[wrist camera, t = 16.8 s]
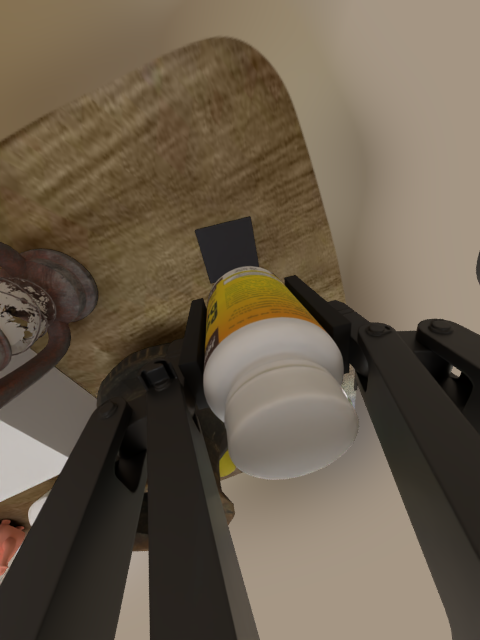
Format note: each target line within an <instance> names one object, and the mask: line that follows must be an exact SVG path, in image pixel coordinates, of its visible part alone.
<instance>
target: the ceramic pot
mask: <svg viewBox="0 0 480 640" xmlns="http://www.w3.org/2000/svg"><path fill="white" fill-rule="evenodd" d="M170 344H171V343H166V344H162V345H158V346H153V347H149V348H146V349H144V350H141V351H138V352H135V353H133V354H131V355H129V356H128V357H126V358H125V359H124V360H122V361H121V362H120V363H119V364H118V365H117V366H116V367H115V368H114V369H113V370H112V371H111V372H110V373H109V374H108V375H107V377H106V378H105V379H104V380H103V381H102V383H101V386H100V388H99V391H98V395H97V404H96V406H97V407H99V406H100V405H101V404H102V403H104V402H105V401H107V400H109V399H111V398H114V397H119V396H121V397H124V398H125V399H126V401H127V402H129V401H131V400H133V399H135V398H138V397H140V396H142V395H143V394H145V393H146V390H145V389H144V387H143V385H142V384H141V382H140V380H139V379H138V377H137V375H138V372H139V370H140V369H141V368H142V367H143V366H144V365H146V364H147V363H148V362H150V361H152V360H155V359H158V358H165V355H166V352H167V349H168V347H169V345H170ZM195 413H196V415H197V417H198V420H199V423H200V427H201V431H202V434H203V438H204V441H205V445H206V448H207V452H208V456H209V459H210V463H211V466H212V470H213V474H214V477H215V481H216V484H217V488H218V492H219V495H220V499H221V502H222V506H223V509H224V513H225V517H226V520H227V524H228V525H229V523H230V522H231V520H232V519H233V517H234V515H235V511H234V504H233V503H232V502H231V501H230V500H229V499H228V497H227V496H226V495H225V494H224V493H223V492H222V490H221V484H220V470H219V461H220V459H221V458H222V457H223V455H224V454H225V453H226V451H227V450H228V441H227V430H226V427H225V423H224V422H223V421H222V420H220V419H219V418H218V417H217V416H216V415H215V414H214V413H213V411H212V410H211V408H210V407H208V408H203V409H198V406H197V404H196V402H195ZM132 551H149V543H148V479H147V481H146V486H145V491H144V496H143V501H142V506H141V510H140V515H139V520H138V525H137V530H136V535H135V540H134V545H133V550H132Z"/></svg>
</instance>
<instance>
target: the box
mask: <svg viewBox="0 0 480 640" xmlns="http://www.w3.org/2000/svg"><path fill="white" fill-rule="evenodd" d="M3 331H4V330H3ZM18 342H19V343H18ZM18 342H17V343H15V344H13V346H15V345H16V346H17V348H18V347H19V346H21V347H22V348H21V349H23V350H24V348H25V346H24V345H23V344H24V343H22V342H20V341H18ZM11 346H12V345H11ZM16 346H15V347H16ZM23 346H24V347H23ZM15 351H16V352H14V353H13V352H12V354H16V353H20V352H21V351H20V349H19V348H18V349H15ZM17 351H18V352H17ZM36 355H37V353H36V352H34V351H33V350H32V349H30V348H29V349H28V350H26V351H25V352H23V353H21V354H18V355H14V356H12V357H11V360H12V362H11V363H9V364H8V366H7V367H5V368H4V369H3V370H2V371H0V379H1V378H2V377H4V376H6V375H7V374H9V373H11V372H12V371H14V370H15V369H17V368H18V367H20V366H22V365H23V364H25V363H26V362H27V361H29V360H30V359H32V358H33V357H35V356H36ZM16 357H17V358H16ZM15 358H16V359H15ZM96 404H97V399H96V398H95V397H94V396H92V395H91V394H90V393H88V392H87V391H86V390H84V389H83V388H82V387H80V386H79V385H78V384H76V383H75V382H74V381H72V380H71V379H70V378H69V377H67V376H66V375H65V374H63V373H62V372H61V371H59V370H58V369H57V368H55V367H53V368H52V369H51V370H50V371H49V372H48V373H47V374H45V375H44V376H43V377H42V378H41V379H39V380H38V381H37V382H35V383H34V384H33V385H32V386H30V387H29V388H28V389H26V390H25V391H24V392H22V393H21V394H20V395H18V396H17V397H16V398H14V399H13V400H12V401H10V402H9V403H8V404H6V405H5V406H4V407H2V408H1V409H0V502H1V501H3V500H5V499H7V498H10V497H12V496H14V495H16V494H18V493H20V492H22V491H25V490H27V489H29V488H31V487H33V486H35V485H37V484H40V483H42V482H44V481H46V480H48V479H50V478H52V477H55V476H57V475H59V474H60V472H61V471H62V469H63V467H64V465H65V463H66V461H67V459H68V458H69V456H70V454H71V452H72V450H73V448H74V446H75V444H76V443H77V441H78V439H79V437H80V435H81V433H82V431H83V429H84V428H85V426H86V424H87V422H88V420H89V418H90V416H91V415H92V413H93V412H94V411H95V409H96V408H97V406H96Z"/></svg>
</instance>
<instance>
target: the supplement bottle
mask: <svg viewBox="0 0 480 640" xmlns="http://www.w3.org/2000/svg"><path fill="white" fill-rule="evenodd" d="M343 374H344V365H343V358H342V355H341V352H340V350H339V348H338V347H337V345H336V343H335V342H334V341H333V339H332V338H331V337H330V335H329V334H328V333H327V332H326V331H325V330H324V329H323V327H322V326H321V325H320V324H319V323H318V322H317V321H316V320H315V319H314V317H313V316H312V315H311V314H310V313H309V312H308V311H307V310H306V308H305V307H304V306H303V305H302V304H301V303H300V302H299V301H298V300H297V299H296V297H295V296H294V295H293V294H292V293H291V292H290V291H289V290H288V288H287V287H286V286H285V285H284V284H283V283H282V282H281V281H280V279H279V278H278V277H277V276H276V275H274V274H273V273H271V272H270V271H268V270H266V269H263V268H260V267H253V266H246V267H240V268H236V269H234V270H231V271H229V272H227V273H226V274H224V275H223V276H222V277H221V278H220V279H219V280H218V281H217V282H216V283H215V284H214V286H213V287H212V289H211V291H210V294H209V297H208V303H207V318H206V336H205V356H204V372H203V386H204V394H205V398H206V401H207V403H208V405H209V407H210V408H211V410H212V411H213V413H214V414H215V415H216V416H217V417H218V418H219V419H220V420H222V421H223V422H224V423H225V427H226V430H227V441H228V451H229V455H230V458H231V460H232V462H233V463H234V465H235V466H236V467H237V468H238V469H240V470H241V471H242V472H244V473H246V474H248V475H251V476H254V477H257V478H262V479H288V478H294V477H299V476H303V475H306V474H309V473H312V472H314V471H317V470H319V469H321V468H324V467H325V466H327V465H329V464H330V463H332V462H334V461H335V460H336V459H338V458H339V457H340V456H342V455H343V454H344V453H345V452H346V451H347V450H348V449H349V447H350V446H351V445H352V443H353V442H354V440H355V438H356V436H357V433H358V428H359V419H358V416H357V414H356V412H355V409H354V408H353V406H352V405H351V403H350V402H349V400H348V399H347V397H346V396H345V394H344V393H343V391H342V388H341V384H342V380H343Z"/></svg>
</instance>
